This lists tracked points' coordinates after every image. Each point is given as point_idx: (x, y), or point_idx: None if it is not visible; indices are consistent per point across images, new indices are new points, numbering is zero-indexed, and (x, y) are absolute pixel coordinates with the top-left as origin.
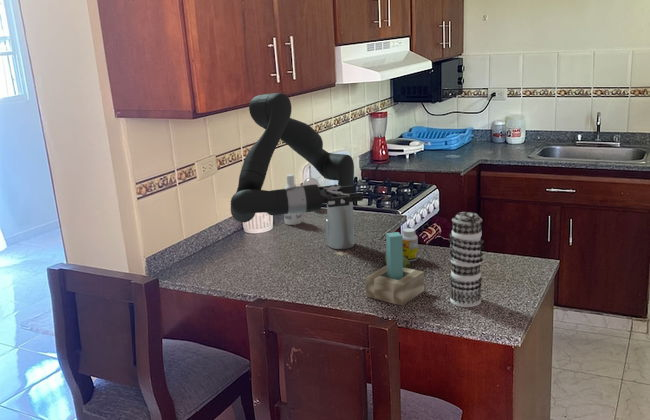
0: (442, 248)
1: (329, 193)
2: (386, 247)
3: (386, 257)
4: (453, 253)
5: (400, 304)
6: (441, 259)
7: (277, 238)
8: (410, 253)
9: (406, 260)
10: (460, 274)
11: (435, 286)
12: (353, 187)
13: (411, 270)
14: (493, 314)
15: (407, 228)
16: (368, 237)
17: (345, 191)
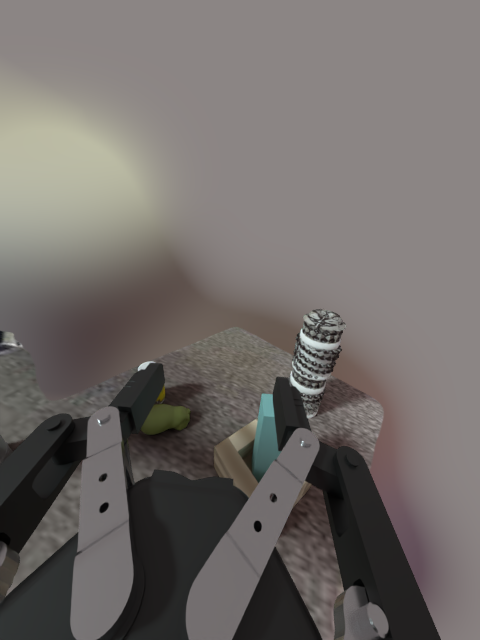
0: (155, 360)
1: (247, 609)
2: (261, 436)
3: (257, 450)
4: (316, 368)
5: (308, 489)
6: (182, 373)
7: None
8: (162, 393)
9: (184, 409)
10: (322, 385)
11: (252, 412)
12: (160, 370)
13: (256, 424)
14: (335, 397)
15: (140, 366)
16: (19, 410)
17: (143, 411)
